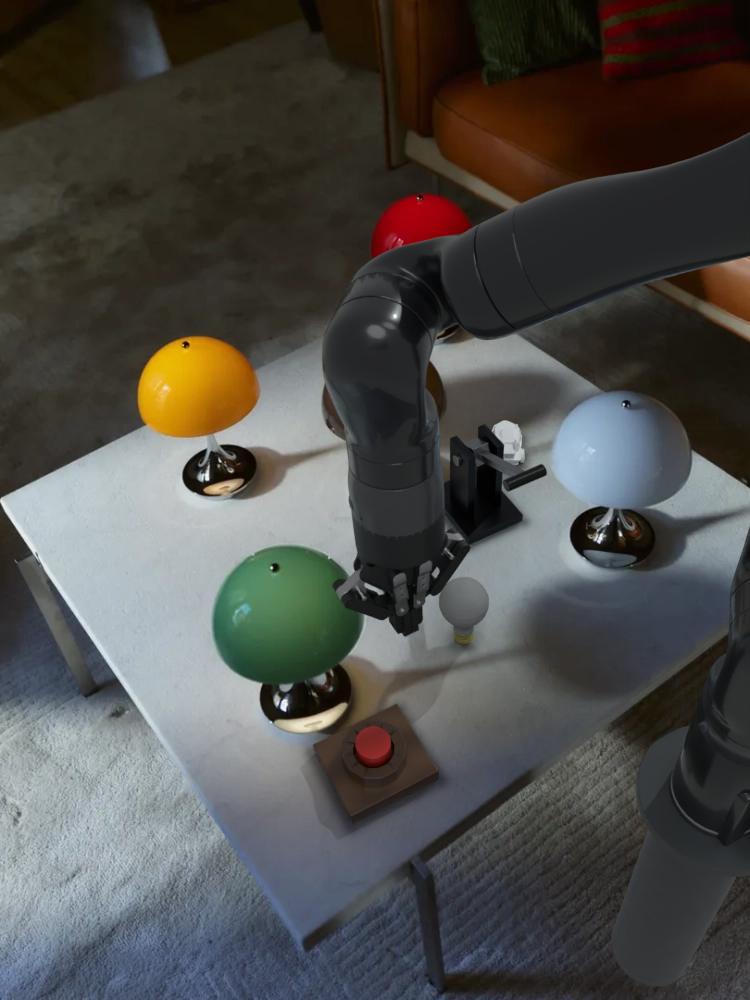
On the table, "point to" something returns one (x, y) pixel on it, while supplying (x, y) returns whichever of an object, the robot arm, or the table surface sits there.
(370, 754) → the button
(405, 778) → the button block
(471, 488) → the bracket
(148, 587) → the table surface
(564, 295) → the robot arm
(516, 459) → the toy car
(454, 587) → the light bulb
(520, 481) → the lever
